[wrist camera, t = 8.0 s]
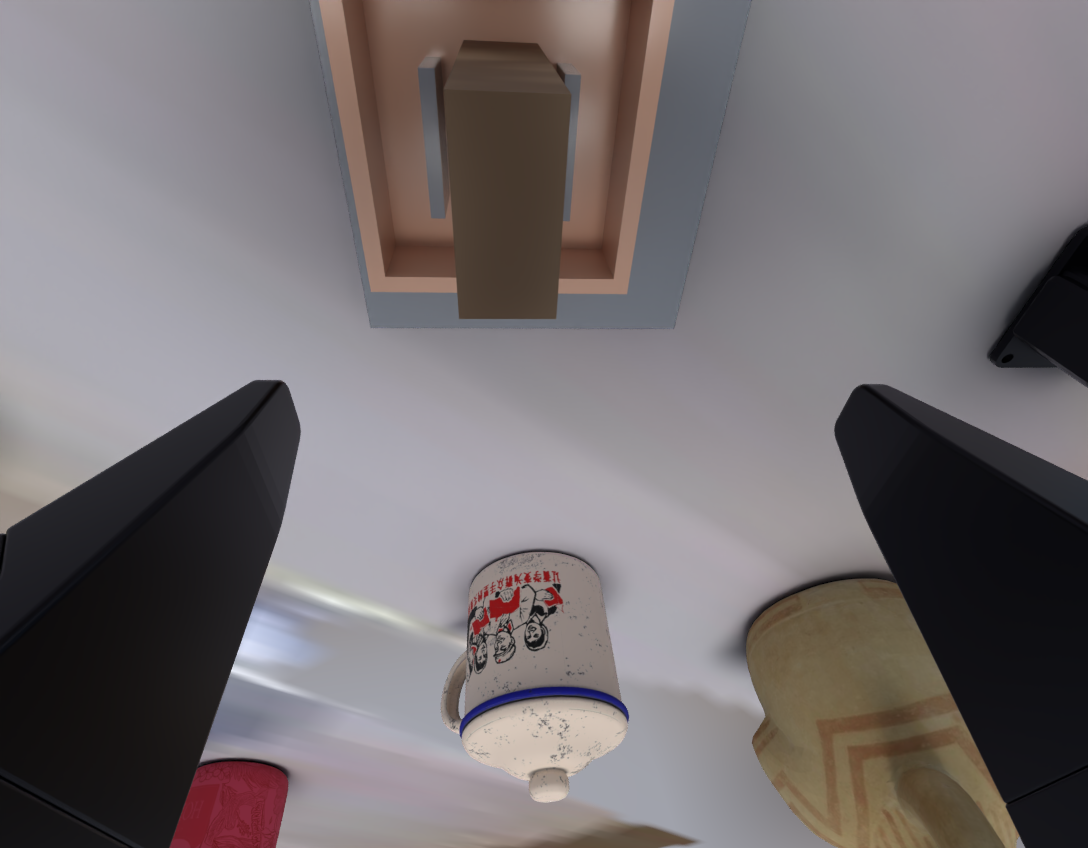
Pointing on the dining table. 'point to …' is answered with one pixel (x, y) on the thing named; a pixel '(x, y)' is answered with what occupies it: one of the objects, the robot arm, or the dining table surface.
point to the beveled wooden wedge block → (506, 178)
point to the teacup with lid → (537, 672)
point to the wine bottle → (233, 807)
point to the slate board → (668, 199)
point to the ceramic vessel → (867, 725)
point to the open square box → (421, 141)
